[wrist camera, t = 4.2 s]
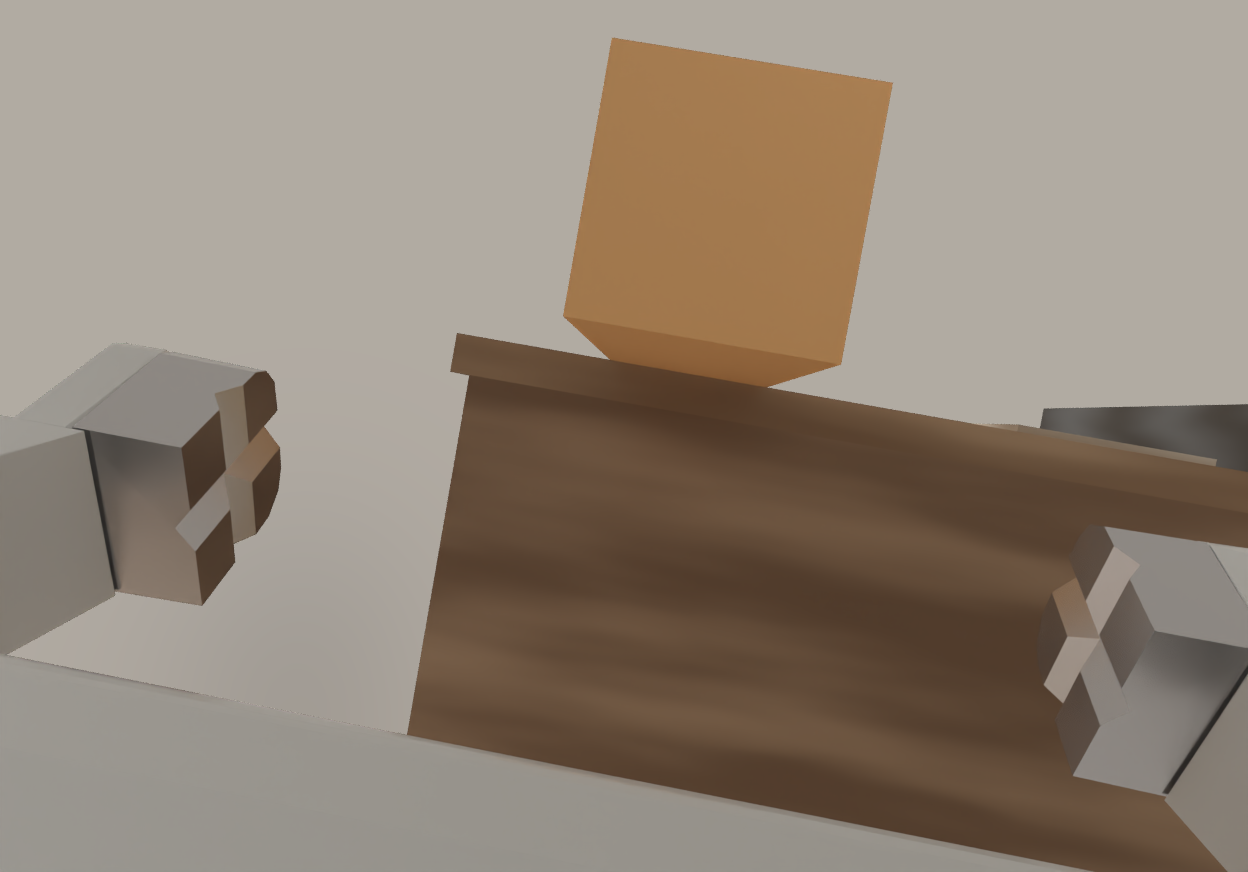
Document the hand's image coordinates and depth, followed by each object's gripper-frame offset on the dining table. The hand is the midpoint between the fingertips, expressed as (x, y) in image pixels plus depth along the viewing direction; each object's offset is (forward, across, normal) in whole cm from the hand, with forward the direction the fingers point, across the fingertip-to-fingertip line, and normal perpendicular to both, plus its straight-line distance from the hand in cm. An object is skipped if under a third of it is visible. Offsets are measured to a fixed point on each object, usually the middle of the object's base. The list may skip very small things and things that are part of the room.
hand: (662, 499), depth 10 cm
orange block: (+17, 0, +8) cm, 18 cm away
